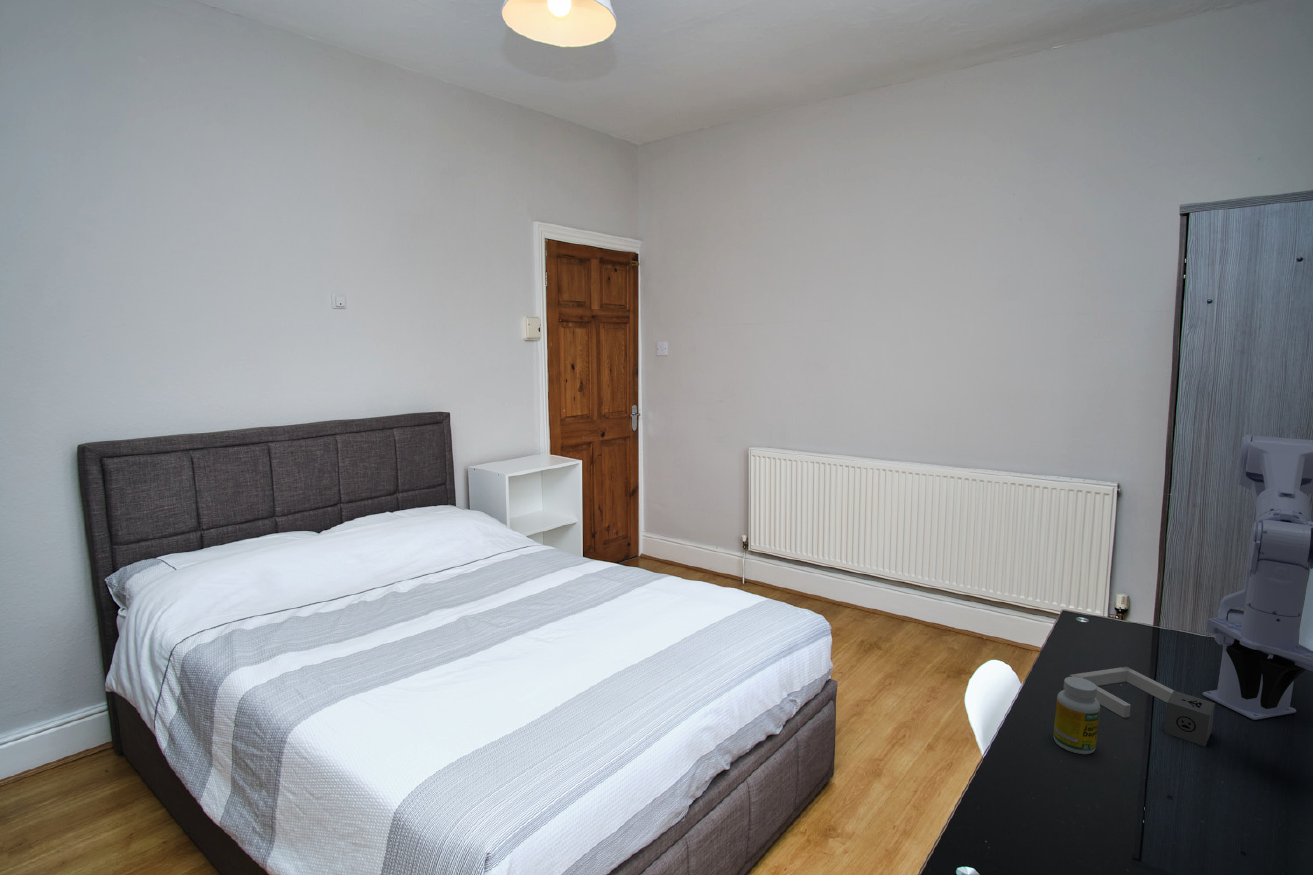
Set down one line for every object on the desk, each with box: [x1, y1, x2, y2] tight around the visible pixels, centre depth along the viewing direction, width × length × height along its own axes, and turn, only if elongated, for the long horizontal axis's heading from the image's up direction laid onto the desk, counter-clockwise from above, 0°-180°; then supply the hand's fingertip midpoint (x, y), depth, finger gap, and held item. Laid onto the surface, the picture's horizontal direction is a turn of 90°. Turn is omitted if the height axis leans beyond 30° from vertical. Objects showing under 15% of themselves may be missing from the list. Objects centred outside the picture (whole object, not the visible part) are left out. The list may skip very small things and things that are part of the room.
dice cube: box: [1163, 690, 1216, 747], centre depth 102 cm, size 5×5×5 cm
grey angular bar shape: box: [1069, 666, 1175, 719], centre depth 113 cm, size 12×10×2 cm
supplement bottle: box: [1052, 676, 1101, 755], centre depth 98 cm, size 5×5×10 cm
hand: (1258, 702), depth 93 cm, fingers closed
